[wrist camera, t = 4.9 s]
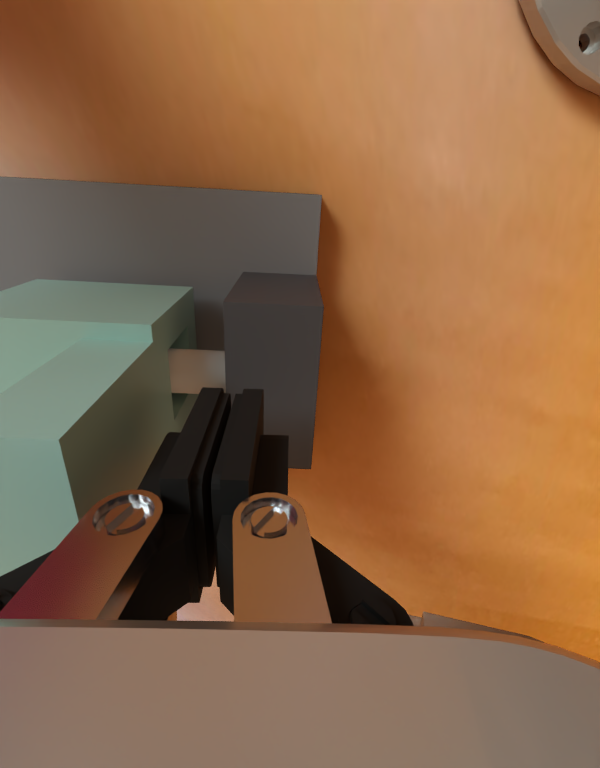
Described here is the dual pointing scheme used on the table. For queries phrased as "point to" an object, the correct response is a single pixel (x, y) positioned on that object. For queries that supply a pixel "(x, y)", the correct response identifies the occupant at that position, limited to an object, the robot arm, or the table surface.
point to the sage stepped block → (82, 400)
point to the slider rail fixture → (192, 277)
